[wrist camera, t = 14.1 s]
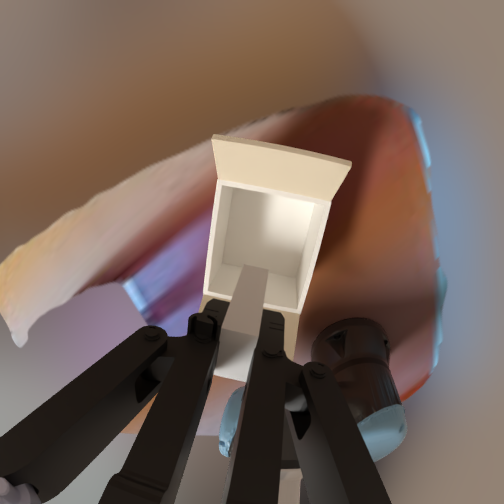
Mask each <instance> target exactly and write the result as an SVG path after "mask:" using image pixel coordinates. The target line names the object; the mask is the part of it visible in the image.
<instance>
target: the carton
mask: <svg viewBox="0 0 504 504" xmlns="http://www.w3.org/2000/svg"><path fill="white" fill-rule="evenodd" d="M330 206H331V202H330V201H325V200H321V199H317V198H312V197H308V196H303V195H298V194H294V193H289V192H284V191H279V190H274V189H269V188H264V187H259V186H254V185H248V184H243V183H237V182H231V181H225V180H219V179H218V180H217V186H216V193H215V200H214V207H213V215H212V222H211V230H210V238H209V246H208V254H207V262H206V271H205V280H204V289H203V294H205V295H209V296H214V297H218V298H223V299H227V300H231V299H232V296H233V293H234V291H235V288H236V285H237V282H238V279H239V277H240V274H241V271H242V268H243V266H244V264H245V265H250V266H255V267H259V268H264V269H268V270H269V272H268V279H267V285H266V292H265V299H264V305H263V307H266V308H271V309H276V310H281V311H287V312H292V313H298V314H301V311H302V308H303V305H304V301H305V298H306V295H307V291H308V288H309V285H310V281H311V278H312V274H313V271H314V267H315V263H316V260H317V256H318V253H319V249H320V245H321V241H322V238H323V234H324V230H325V226H326V222H327V218H328V214H329V210H330Z"/></svg>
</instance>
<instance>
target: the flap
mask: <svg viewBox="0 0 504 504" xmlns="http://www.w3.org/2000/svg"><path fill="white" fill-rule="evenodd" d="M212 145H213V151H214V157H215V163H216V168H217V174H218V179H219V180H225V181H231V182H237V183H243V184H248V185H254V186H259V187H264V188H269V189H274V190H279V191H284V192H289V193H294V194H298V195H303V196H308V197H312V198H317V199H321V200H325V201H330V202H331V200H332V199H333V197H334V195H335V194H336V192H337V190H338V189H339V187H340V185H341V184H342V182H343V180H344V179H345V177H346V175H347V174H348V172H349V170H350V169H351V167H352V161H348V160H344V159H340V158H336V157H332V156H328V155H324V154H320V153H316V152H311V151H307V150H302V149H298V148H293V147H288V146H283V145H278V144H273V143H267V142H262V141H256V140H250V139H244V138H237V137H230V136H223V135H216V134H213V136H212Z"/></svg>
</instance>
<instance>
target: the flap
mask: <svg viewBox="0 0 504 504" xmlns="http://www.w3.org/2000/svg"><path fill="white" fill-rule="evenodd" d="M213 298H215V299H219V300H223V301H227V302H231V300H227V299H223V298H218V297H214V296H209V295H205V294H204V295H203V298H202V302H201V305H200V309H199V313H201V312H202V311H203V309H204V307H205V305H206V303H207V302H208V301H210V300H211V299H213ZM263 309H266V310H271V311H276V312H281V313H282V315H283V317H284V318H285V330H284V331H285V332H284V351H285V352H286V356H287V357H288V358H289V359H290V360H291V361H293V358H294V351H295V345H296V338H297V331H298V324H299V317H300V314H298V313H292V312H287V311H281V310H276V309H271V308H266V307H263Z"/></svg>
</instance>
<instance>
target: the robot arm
mask: <svg viewBox="0 0 504 504" xmlns="http://www.w3.org/2000/svg"><path fill="white" fill-rule="evenodd" d="M268 272H269V270H268V269H264V268H259V267H255V266H250V265H245V264H244V266H243V268H242V271H241V274H240V277H239V279H238V282H237V285H236V288H235V291H234V293H233V296H232V299H231V302H227V301H223V300H219V299H215V298H213V299H211V300H210V301H208V302H207V303H206V305H205V307H204V309H203V311H202V312H201V313H195V314H193V315H191V316H190V317H189V319H188V331H187V335H186V336H182V337H169V336H167V333H166V331H165V330H163V329H162V328H160V327H157V326H150V325H149V326H144V327H142V328H140V329H139V330H137V331H136V332H135V333H133V334H132V335H131V336H129V337H128V338H127V339H126V340H124V341H123V342H122V343H120V344H119V345H118V346H116V347H115V348H114V349H112V350H111V351H110V352H109V353H108V354H106V355H105V356H103V357H102V358H101V359H100V360H98V361H97V362H96V363H95V364H93V365H92V366H91V367H89V368H88V369H87V370H85V371H84V372H83V373H82V374H80V375H79V376H78V377H77V378H75V379H74V380H73V381H71V382H70V383H69V384H68V385H66V386H65V387H64V388H63V389H61V390H60V391H59V392H57V393H56V394H55V395H53V396H52V397H51V398H50V399H48V400H47V401H46V402H45V403H43V404H42V405H41V406H40V407H38V408H37V409H36V410H34V411H33V412H32V413H31V414H29V415H28V416H27V417H26V418H24V419H23V420H22V421H21V422H19V423H18V424H17V425H15V426H14V427H13V428H12V429H11V430H9V431H8V432H7V433H5V434H4V435H3V436H2V437H0V504H42V503H45V502H47V501H49V500H50V499H52V498H54V497H55V496H57V495H58V494H59V493H60V492H62V491H63V490H64V489H65V488H66V487H67V486H68V485H69V484H70V483H71V482H72V481H73V480H74V479H75V478H76V477H77V476H78V475H79V474H80V473H81V472H82V471H83V470H84V469H85V468H86V467H87V466H88V465H89V464H90V463H91V462H92V461H93V460H94V459H95V458H96V457H97V456H98V455H99V454H100V453H101V452H102V451H103V450H104V448H106V446H108V445H109V443H110V442H111V441H112V440H113V439H114V438H115V437H116V436H117V435H118V434H119V433H120V432H121V431H122V430H123V429H124V428H125V427H126V426H127V425H128V424H129V423H130V421H131V420H132V419H133V418H134V417H135V416H136V415H137V414H138V413H139V412H140V411H141V410H142V409H143V408H144V407H145V406H146V404H147V403H148V402H149V401H150V400H151V399H152V398H153V397H154V396H155V395H156V394H157V393H158V394H157V396H156V398H155V400H154V402H153V404H152V406H151V408H150V410H149V412H148V414H147V416H146V419H145V421H144V423H143V425H142V427H141V429H140V431H139V433H138V435H137V437H136V440H135V442H134V444H133V446H132V448H131V450H130V452H129V454H128V457H127V459H126V461H125V463H124V465H123V467H122V469H121V471H120V472H119V473H117V474H114V475H113V476H112V478H111V479H110V480H109V482H108V484H107V486H106V488H105V490H104V492H103V494H102V497H101V499H100V501H99V503H98V504H174V502H175V499H176V495H177V492H178V489H179V486H180V482H181V479H182V476H183V473H184V470H185V466H186V463H187V460H188V457H189V454H190V450H191V447H192V444H193V441H194V438H195V435H196V431H197V428H198V425H199V422H200V419H201V415H202V412H203V409H204V406H205V403H206V399H207V396H208V393H209V390H210V387H211V383H212V377H213V373H214V375H217V376H221V377H225V378H230V379H234V380H239V381H243V382H246V385H245V386H243V387H240V388H238V389H236V390H235V391H234V392H233V394H232V395H231V397H230V398H229V400H228V402H227V405H226V407H225V410H224V413H223V417H222V421H221V426H220V432H219V439H220V442H219V449H220V452H221V453H222V454H223V455H225V456H226V457H230V463H229V468H228V472H227V477H226V482H225V487H224V492H223V496H222V500H221V504H299V498H300V480H301V479H302V477H303V479H304V483H305V487H306V490H307V494H308V498H309V501H310V504H392V503H391V501H390V499H389V497H388V494H387V492H386V489H385V487H384V485H383V482H382V480H381V478H380V475H379V473H378V471H377V469H376V466H375V464H374V462H375V461H377V460H379V459H381V458H383V457H385V456H386V455H388V454H389V453H391V452H392V451H393V450H395V449H396V448H397V447H398V446H399V445H400V444H401V442H402V441H403V440H404V438H405V436H406V433H407V423H406V418H405V410H404V407H403V406H402V403H401V400H400V397H399V394H398V391H397V389H396V386H395V383H394V380H393V377H392V375H391V372H390V369H389V361H390V343H389V339H388V337H387V335H386V332H385V331H384V329H383V328H382V327H381V326H380V325H379V324H378V323H376V322H374V321H372V320H368V319H363V318H352V319H346V320H343V321H340V322H337V323H335V324H333V325H331V326H329V327H328V328H326V329H325V330H324V331H323V332H322V333H321V334H320V335H319V336H318V337H317V338H316V340H315V341H314V343H313V346H312V349H311V362H308V363H306V364H304V366H301V365H299V364H297V363H295V362H293V361H291V360H290V359H289V358H288V357H287V356H286V352H285V351H284V332H285V331H284V330H285V318H284V317H283V315H282V313H281V312H276V311H271V310H266V309H263V305H264V299H265V292H266V285H267V279H268Z"/></svg>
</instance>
